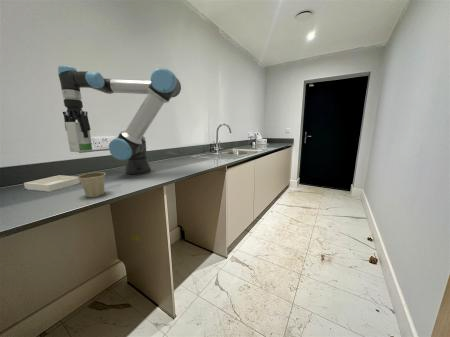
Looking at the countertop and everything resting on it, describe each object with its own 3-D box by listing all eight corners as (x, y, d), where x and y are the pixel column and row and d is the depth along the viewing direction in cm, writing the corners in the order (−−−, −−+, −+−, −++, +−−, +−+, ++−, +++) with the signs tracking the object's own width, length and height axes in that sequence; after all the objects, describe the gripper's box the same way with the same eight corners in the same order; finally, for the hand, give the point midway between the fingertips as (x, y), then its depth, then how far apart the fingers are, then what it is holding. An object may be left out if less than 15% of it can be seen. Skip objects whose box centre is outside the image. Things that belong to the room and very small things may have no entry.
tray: (82, 182, 93) (81, 176, 92) (49, 191, 79) (48, 185, 78) (60, 180, 96) (59, 175, 95) (25, 189, 82) (23, 183, 81)
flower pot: (87, 201, 69) (83, 179, 67) (76, 196, 74) (73, 175, 72) (112, 193, 77) (110, 174, 75) (102, 189, 81) (99, 171, 80)
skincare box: (79, 152, 95) (74, 121, 91) (69, 151, 96) (63, 122, 93) (93, 150, 103) (89, 122, 100) (84, 150, 104) (79, 122, 101)
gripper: (50, 99, 92) (59, 144, 97) (80, 97, 88) (88, 144, 93) (65, 101, 99) (73, 143, 104) (94, 99, 95) (101, 143, 100)
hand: (80, 143), depth 99 cm, fingers closed on skincare box, 6 cm apart
